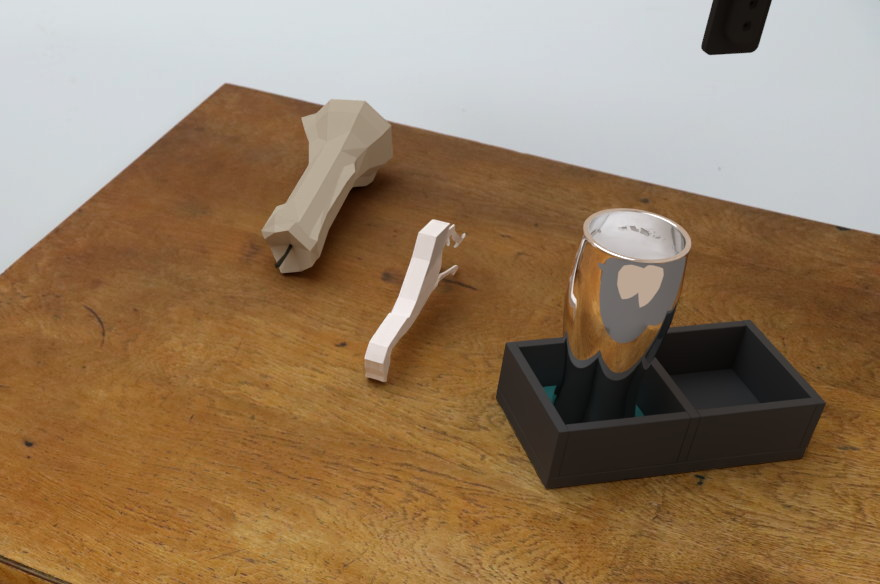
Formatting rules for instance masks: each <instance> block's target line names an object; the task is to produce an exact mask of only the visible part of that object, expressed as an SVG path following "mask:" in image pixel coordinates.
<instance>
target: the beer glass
mask: <svg viewBox="0 0 880 584" xmlns="http://www.w3.org/2000/svg"><path fill="white" fill-rule="evenodd" d="M691 248H692V239H691V236H690V235H689V234H688V232H687V231H686V229H685V228H683V227H682V226H681V225H679V224H678V223H677V222H675V221H674V220H672V219H670V218H668V217H666V216H663V215H661V214H658V213H655V212H651V211H647V210H643V209H637V208H626V207H618V208H616V207H615V208H607V209H602V210H600V211H599V210H598V211H596V212H595V213H593V214H591V215H590V216H588V217H587V218H586V219H585V221H584V222H583V226H582V231H581V234H580V237H579V240H578V244H577V246H576V248H575V249H576V250H575V253H574V256H573V259H572V262H571V266H570V270H569V273H568V278H567V283H566V288H565V293H564V300H563V301H564V302H563V313H562V314H563V316H562V337H563V358H562V368H561V373H560V377H559V380H558V383H557V385H556V388H555V390H554V392H553V394H552V396H551V398H550V400H551V402H552V404H553V405H554V407H555V409H556V410H557V412H558V414H559V415H560V417H561V419H562V420H563V422H564V424H565V425H567V424H576V423H586V422H595V421H604V420H613V419H622V418H631V417H635V415H636V400H637V395H638V391H639V388H640V385H641V382H642V380H643V378H644V376H645V374H646V372H647V370H648V368H649V366H650V365H651V363H652V361H653V359H654V357H655V355H656V353H657V352H658V350H659V348H660V346H661V344H662V342H663V340H664V338H665V336H666V334H667V332H668V329H669V327H671V325H672V322H673V320H674V317H675V313H676V311H677V308H678V305H679V301H680V297H681V294H682V289H683V286H684V281H685V276H686V271H687V265H688V260H689V254H690V250H691Z"/></svg>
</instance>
